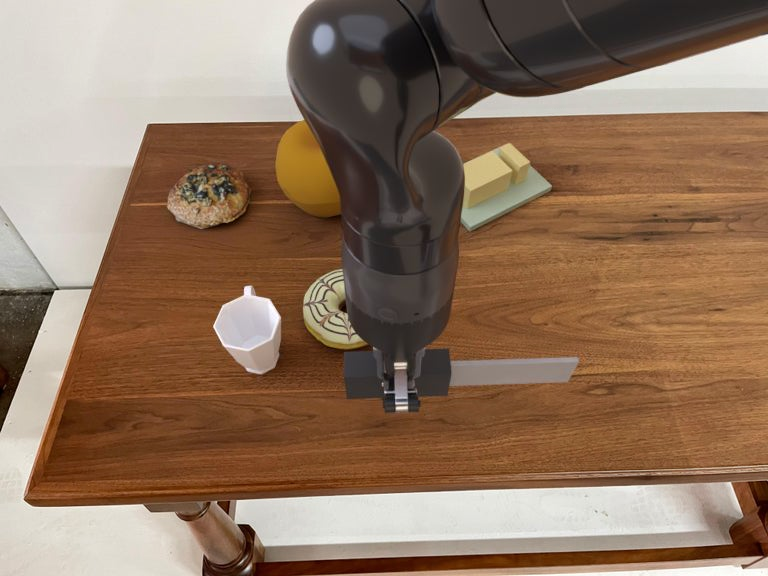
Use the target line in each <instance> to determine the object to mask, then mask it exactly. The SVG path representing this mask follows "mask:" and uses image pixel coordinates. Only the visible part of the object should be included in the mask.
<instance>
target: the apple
mask: <svg viewBox="0 0 768 576" xmlns="http://www.w3.org/2000/svg"><path fill="white" fill-rule="evenodd" d="M274 165H275V166H274V167H275V175H276V180H277V182H278V185H279V187H280V189H281V190H282V192H283V193H284V195H285V196H286V198H287V199H288V200H290V202H292V203H293V204H294V205H295V206H296V207H298V208H299V209H301V210H302V211H303V212H305V213H307V214H308V215H310V216H314V217H319V218H325V219H327V218H331V217H337V216H341V209H340V197H339V192H338V190H337V187H336V184H335V182H334V179H333V177H332V175H331V172H330V170H329V167H328V165H327V163H326V161H325V158H324V156H323V154H322V151H321V149H320V147H319V145H318V143H317V141H316V140H315V138H314V136H313V134H312V132H311V131H310V129H309V127H308V125H307V123H306V122H305V120H304V119H303V120H299V121H298V122H296V123H295V124H293V125H292V126H290V127H289V128H288V129H287V130H286V131H285V132H284V134H283V135H282V136H281V139H280V140H279V142H278V145H277V149H276V157H275V163H274Z"/></svg>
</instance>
